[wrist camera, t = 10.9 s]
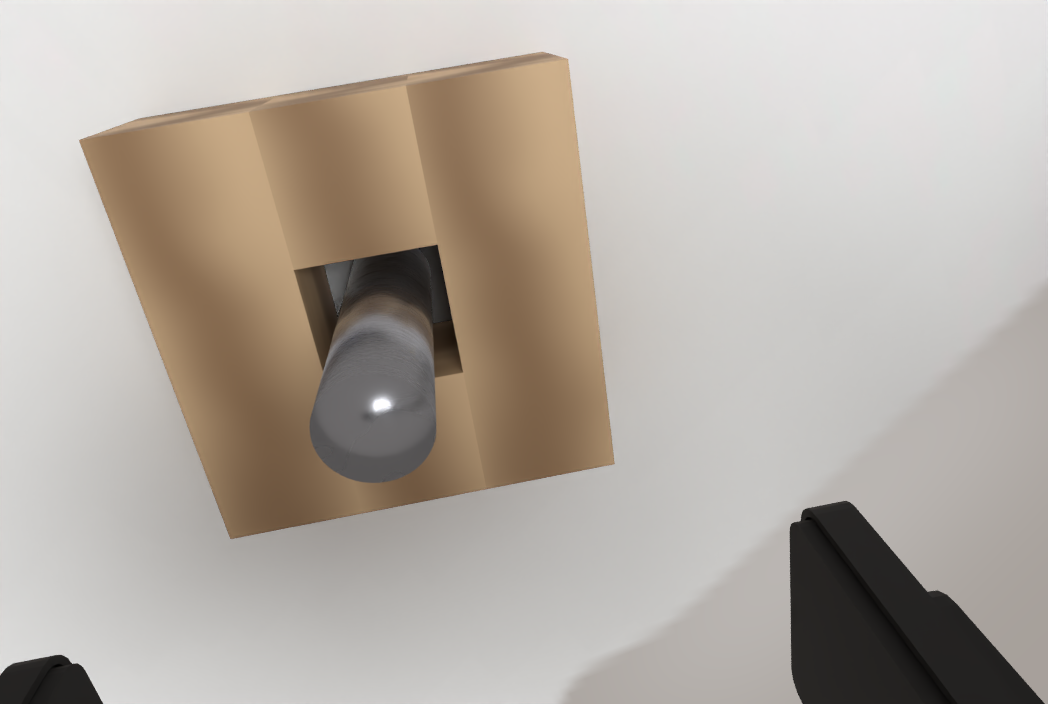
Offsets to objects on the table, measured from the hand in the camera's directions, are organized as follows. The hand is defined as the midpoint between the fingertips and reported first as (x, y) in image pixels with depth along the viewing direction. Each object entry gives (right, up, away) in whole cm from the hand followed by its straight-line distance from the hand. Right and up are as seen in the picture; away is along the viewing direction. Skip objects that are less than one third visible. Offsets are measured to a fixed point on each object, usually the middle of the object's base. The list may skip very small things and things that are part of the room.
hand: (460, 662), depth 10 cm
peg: (-4, +7, +19) cm, 21 cm away
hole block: (-4, +7, +19) cm, 21 cm away
